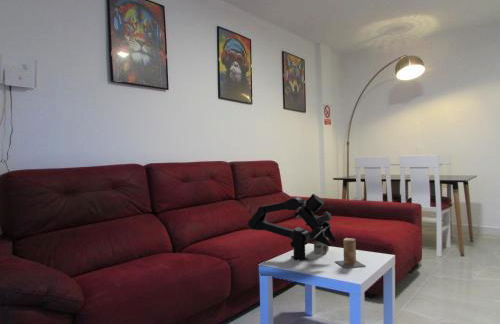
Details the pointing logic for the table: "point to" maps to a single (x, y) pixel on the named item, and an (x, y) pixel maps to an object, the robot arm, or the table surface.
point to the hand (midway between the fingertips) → (333, 243)
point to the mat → (350, 265)
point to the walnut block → (349, 251)
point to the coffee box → (320, 247)
